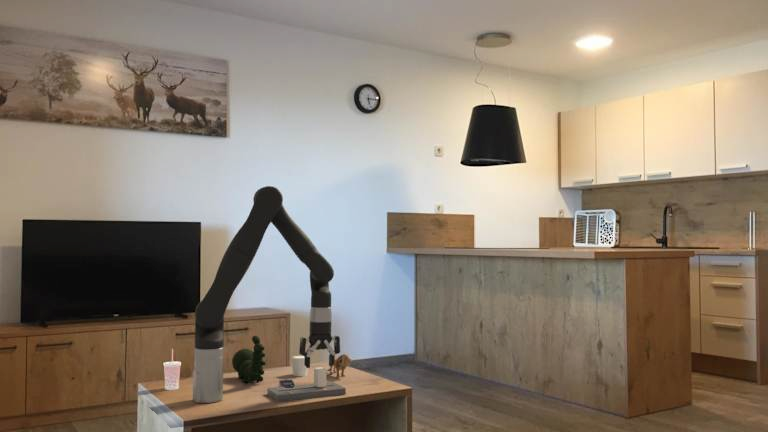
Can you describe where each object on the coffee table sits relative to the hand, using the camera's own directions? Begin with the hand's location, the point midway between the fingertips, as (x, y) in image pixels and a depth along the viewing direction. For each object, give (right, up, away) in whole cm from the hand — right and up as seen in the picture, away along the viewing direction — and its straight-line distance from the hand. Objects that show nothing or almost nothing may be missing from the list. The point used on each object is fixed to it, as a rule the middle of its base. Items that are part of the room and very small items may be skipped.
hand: (319, 366), depth 231 cm
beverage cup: (-53, -9, +5) cm, 54 cm away
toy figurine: (-28, -10, +19) cm, 35 cm away
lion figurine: (+5, -10, +29) cm, 31 cm away
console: (-4, -9, -3) cm, 10 cm away
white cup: (-11, -10, +30) cm, 33 cm away
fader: (0, -9, 0) cm, 9 cm away
